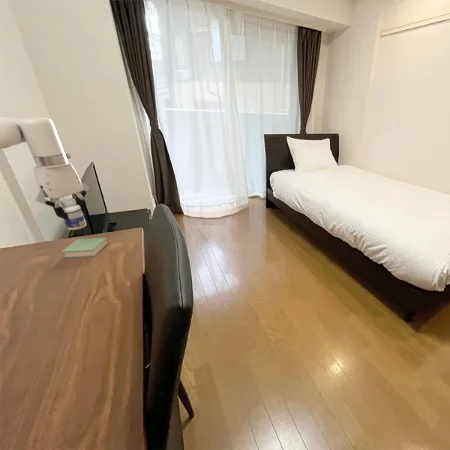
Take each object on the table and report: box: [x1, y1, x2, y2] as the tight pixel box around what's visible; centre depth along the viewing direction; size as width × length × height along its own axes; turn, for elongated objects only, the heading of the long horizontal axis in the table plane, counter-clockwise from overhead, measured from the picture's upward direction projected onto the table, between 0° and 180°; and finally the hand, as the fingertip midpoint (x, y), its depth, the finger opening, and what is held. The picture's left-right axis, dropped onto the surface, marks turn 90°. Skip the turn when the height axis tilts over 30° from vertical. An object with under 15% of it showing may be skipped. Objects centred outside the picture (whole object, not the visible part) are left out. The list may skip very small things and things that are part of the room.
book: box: [61, 237, 109, 259], centre depth 97 cm, size 10×9×2 cm
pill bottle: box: [59, 197, 87, 231], centre depth 92 cm, size 5×5×10 cm
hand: (72, 213), depth 91 cm, fingers closed on pill bottle, 5 cm apart
